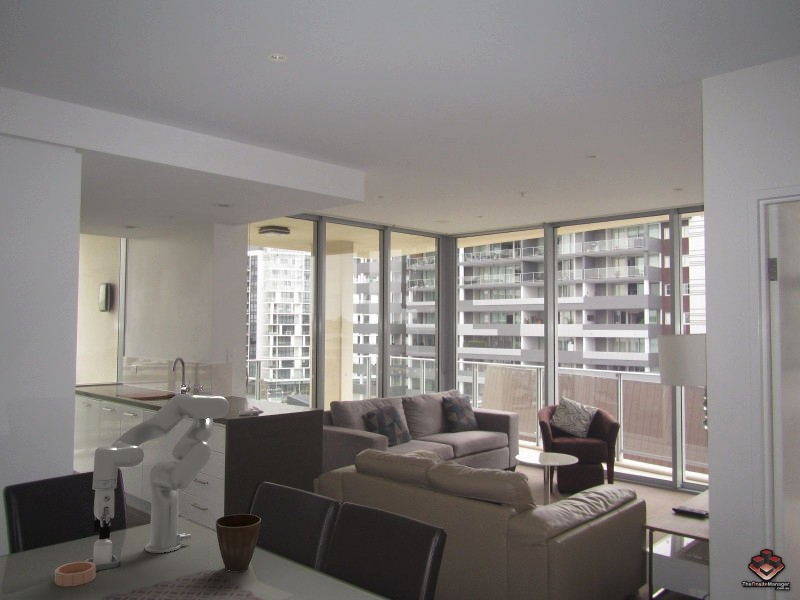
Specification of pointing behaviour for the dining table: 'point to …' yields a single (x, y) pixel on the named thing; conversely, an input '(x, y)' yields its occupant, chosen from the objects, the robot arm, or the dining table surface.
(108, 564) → the open rectangular frame
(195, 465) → the robot arm
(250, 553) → the plant pot
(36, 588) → the dining table surface
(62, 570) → the bowl
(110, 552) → the eye dropper bottle
